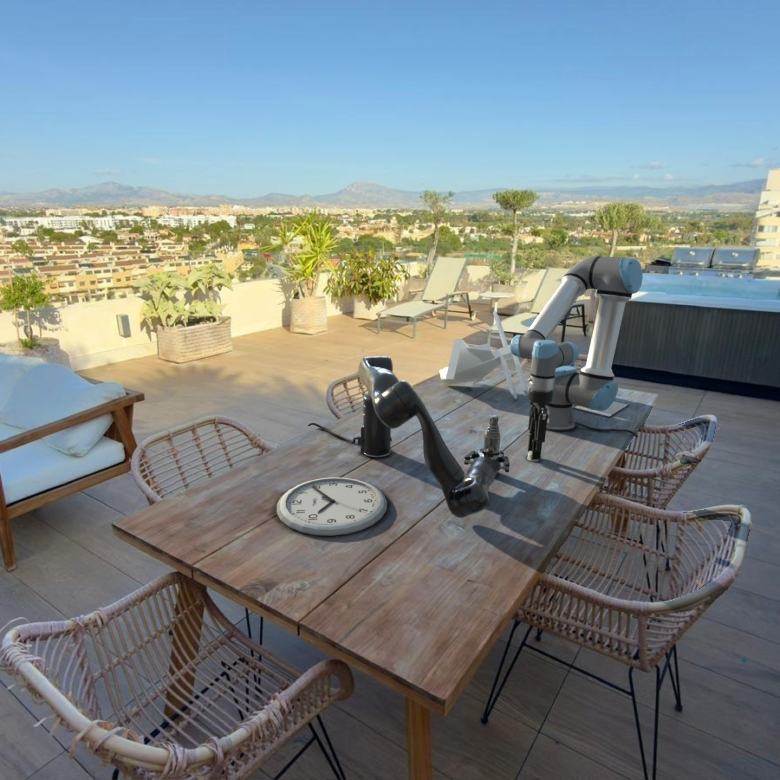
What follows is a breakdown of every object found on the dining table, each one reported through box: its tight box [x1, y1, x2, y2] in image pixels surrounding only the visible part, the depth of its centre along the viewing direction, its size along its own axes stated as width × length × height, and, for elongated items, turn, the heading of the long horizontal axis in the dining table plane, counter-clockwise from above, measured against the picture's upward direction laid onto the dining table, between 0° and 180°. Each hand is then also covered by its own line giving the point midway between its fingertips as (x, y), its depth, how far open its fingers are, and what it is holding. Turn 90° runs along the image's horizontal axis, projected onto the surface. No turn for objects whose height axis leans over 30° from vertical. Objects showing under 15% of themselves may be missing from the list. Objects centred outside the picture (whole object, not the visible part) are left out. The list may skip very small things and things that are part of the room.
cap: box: [527, 451, 540, 462], centre depth 174 cm, size 4×4×2 cm
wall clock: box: [276, 476, 388, 537], centre depth 142 cm, size 30×2×30 cm
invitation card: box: [573, 400, 629, 418], centre depth 226 cm, size 21×1×15 cm
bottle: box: [483, 414, 501, 476], centre depth 161 cm, size 5×5×19 cm
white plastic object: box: [438, 310, 529, 400], centre depth 245 cm, size 37×45×31 cm
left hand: (492, 451), depth 164 cm, fingers closed on bottle, 4 cm apart
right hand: (533, 455), depth 174 cm, fingers open, 4 cm apart
